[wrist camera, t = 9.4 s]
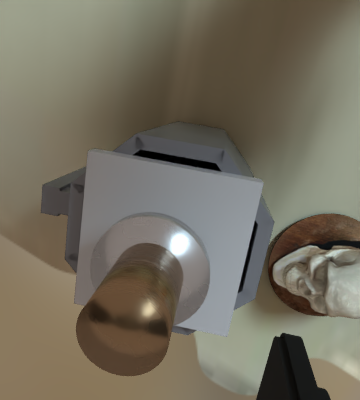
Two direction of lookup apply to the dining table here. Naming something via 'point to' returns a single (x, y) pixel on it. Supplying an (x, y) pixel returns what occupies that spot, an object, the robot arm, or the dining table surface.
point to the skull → (319, 266)
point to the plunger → (142, 287)
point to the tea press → (172, 210)
